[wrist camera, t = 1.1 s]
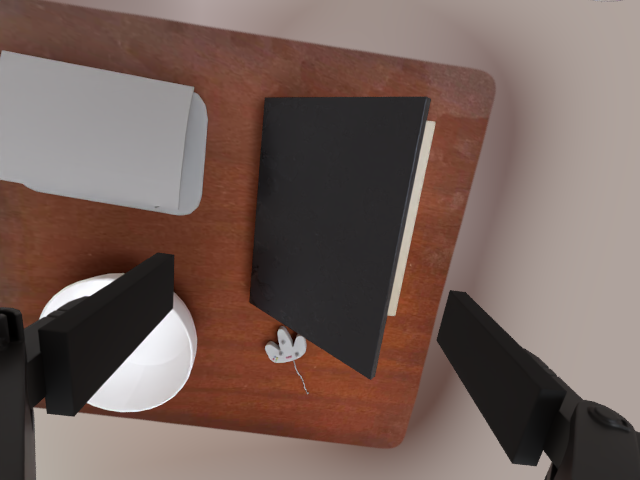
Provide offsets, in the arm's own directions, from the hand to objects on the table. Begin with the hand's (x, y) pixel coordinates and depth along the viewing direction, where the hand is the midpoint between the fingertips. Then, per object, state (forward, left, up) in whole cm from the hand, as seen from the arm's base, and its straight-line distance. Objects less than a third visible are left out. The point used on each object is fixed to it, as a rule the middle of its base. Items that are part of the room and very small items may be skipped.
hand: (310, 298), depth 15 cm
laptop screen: (0, +1, -19) cm, 19 cm away
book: (+10, -24, -27) cm, 38 cm away
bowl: (+28, -8, -27) cm, 40 cm away
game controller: (+20, +12, -27) cm, 36 cm away
